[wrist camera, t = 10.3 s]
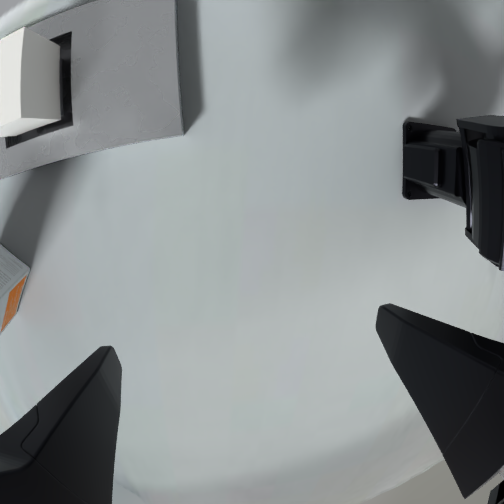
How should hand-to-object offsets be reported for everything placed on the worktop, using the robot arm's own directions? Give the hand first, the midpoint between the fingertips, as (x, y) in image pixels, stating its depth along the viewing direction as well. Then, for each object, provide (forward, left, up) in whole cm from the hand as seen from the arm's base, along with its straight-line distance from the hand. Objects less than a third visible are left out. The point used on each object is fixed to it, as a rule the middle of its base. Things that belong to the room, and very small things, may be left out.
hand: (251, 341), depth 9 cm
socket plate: (+10, -12, -13) cm, 20 cm away
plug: (+12, -12, -13) cm, 21 cm away
